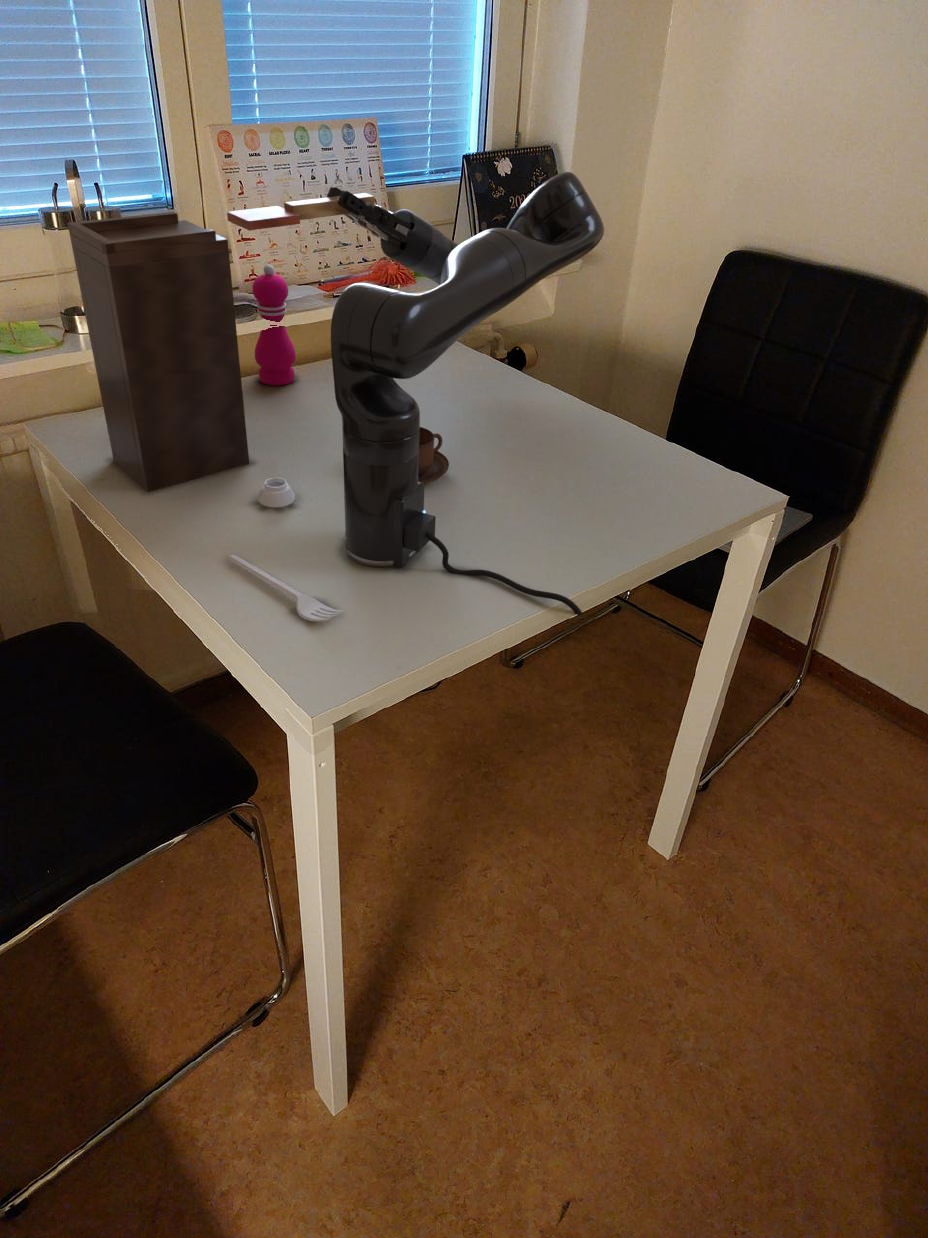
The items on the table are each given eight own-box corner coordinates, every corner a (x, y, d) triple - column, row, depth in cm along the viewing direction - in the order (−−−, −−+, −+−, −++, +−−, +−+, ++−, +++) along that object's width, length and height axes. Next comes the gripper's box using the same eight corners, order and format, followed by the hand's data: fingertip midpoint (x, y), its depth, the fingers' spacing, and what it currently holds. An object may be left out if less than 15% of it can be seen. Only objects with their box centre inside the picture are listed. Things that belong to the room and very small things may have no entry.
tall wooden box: (211, 435, 142) (184, 210, 123) (249, 463, 135) (226, 229, 115) (113, 460, 133) (67, 222, 114) (148, 491, 126) (105, 243, 107)
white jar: (300, 496, 127) (269, 490, 128) (299, 478, 125) (267, 471, 127) (284, 512, 123) (252, 505, 124) (283, 493, 122) (250, 486, 123)
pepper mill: (301, 373, 165) (295, 260, 153) (291, 388, 159) (284, 271, 148) (263, 370, 165) (253, 257, 154) (251, 384, 160) (241, 268, 148)
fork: (241, 555, 114) (240, 543, 113) (348, 622, 104) (348, 608, 103) (220, 565, 112) (218, 552, 111) (327, 633, 102) (326, 620, 101)
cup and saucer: (398, 449, 141) (398, 412, 138) (463, 470, 137) (465, 432, 133) (352, 477, 133) (351, 438, 129) (420, 500, 128) (421, 461, 125)
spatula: (358, 204, 136) (358, 190, 135) (381, 212, 132) (381, 198, 131) (227, 220, 124) (226, 205, 123) (249, 230, 121) (247, 214, 119)
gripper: (399, 212, 146) (319, 160, 133) (454, 230, 138) (373, 177, 124) (381, 257, 148) (300, 210, 134) (433, 278, 139) (352, 230, 126)
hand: (335, 194), depth 129 cm, fingers closed on spatula, 2 cm apart
